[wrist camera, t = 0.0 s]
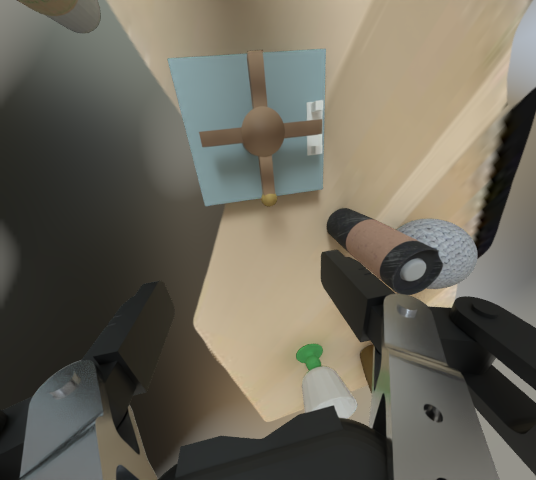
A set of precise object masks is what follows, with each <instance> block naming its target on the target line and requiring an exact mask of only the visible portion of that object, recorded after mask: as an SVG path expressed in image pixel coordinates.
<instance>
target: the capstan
mask: <svg viewBox="0 0 536 480" xmlns="http://www.w3.org/2000/svg"><path fill="white" fill-rule="evenodd" d="M247 65H248V74H249V82H250V91H251V100H252V108H253V109H252V110H251V111H250V112H249V113H248V114H247V115H246V116H245V118H244V120H243V123H242V127H241V128H231V129H221V130H211V131H202V132H199V135H200V139H201V144H202V147H213V146H221V145H230V144H239V143H242V144H243V146H244V148H245V149H246V150H247V151H248V152H249V153H251V154H252V155H255V156H258V159H259V168H260V176H261V185H262V193H263V194H262V196H261V200H262V203H263V204H264V205H265V206H273V205H274V204H275V203H276V202H277V195H276V193H275V185H274V174H273V162H272V154H274V153H276V152H277V151H278V150H279V148H280V147H281V145H282V143H283V141H284V138H293V137H302V136H311V135H318V134H322V119H318V120H308V121H299V122H289V123H283V121H282V119H281V117H280V115H279V114H278V113H277V112H276V111H275V110H273V109H271V108H269V107H268V105H267V94H266V82H265V71H264V60H263V50H255V51H248V52H247Z"/></svg>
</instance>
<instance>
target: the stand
mask: <svg viewBox="0 0 536 480" xmlns="http://www.w3.org/2000/svg"><path fill="white" fill-rule="evenodd" d="M263 60H264V71H265V82H266V94H267V105H268V107H269V108H271V109H273V110H275V111H276V112H277V113H278V114H279V115H280V117H281V119H282V121H283V123H289V122H299V121H308V120H318V119H322V134H318V135H311V136H302V137H293V138H284V141H283V143H282V145H281V147H280V148H279V150H278V151H277V152H276V153H274V154H272V162H273V174H274V185H275V193H276V195H277V196H280V195H287V194H293V193H300V192H307V191H314V190H321V189H323V154H324V107H325V61H326V49H312V50H296V51H280V52H264V53H263ZM168 63H169V67H170V71H171V75H172V79H173V82H174V86H175V90H176V94H177V98H178V102H179V106H180V110H181V114H182V118H183V121H184V125H185V129H186V133H187V137H188V141H189V145H190V148H191V153H192V157H193V160H194V164H195V168H196V171H197V176H198V180H199V184H200V188H201V191H202V196H203V200H204V203H205V206H209V205H217V204H224V203H231V202H238V201H245V200H252V199H259V198H261V196H262V194H263V193H262V185H261V176H260V168H259V159H258V156H255V155H252V154H251V153H249V152H248V151H247V150H246V149H245V148H244V146H243V144H242V143H239V144H230V145H221V146H213V147H202V144H201V139H200V135H199V132H202V131H211V130H221V129H231V128H241V127H242V123H243V120H244V118H245V116H246V115H247V114H248V113H249V112H250V111H251V110H252V109H253V108H252V100H251V91H250V82H249V74H248V65H247V54H232V55H216V56H200V57H184V58H168Z"/></svg>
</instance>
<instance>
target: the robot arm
mask: <svg viewBox="0 0 536 480" xmlns="http://www.w3.org/2000/svg"><path fill="white" fill-rule="evenodd" d="M321 282H322V285H323V287H324V289H325V290H326V292H327V293H328V295H329V296H330V298H331V299H332V301H333V302H334V304H335V305H336V307H337V308H338V310H339V311H340V313H341V314H342V316H343V317H344V319H345V320H346V322H347V323H348V325H349V326H350V328H351V329H352V331H353V332H354V334H355V335H356V337H357V338H358V340H359V341H360V342H364V341H369V340H371V342H372V343H373V345H374V349H373V372H372V399H371V408H370V417H369V427H368V426H366V425H364V424H361V423H359V422H357V421H354V420H350V419H346V418H339V417H338V415H337V412H336V410H335V407H334V405H333V406H329V407H325V408H322V409H318V410H314V411H311V412H307V413H303V414H300V415H298V416H296V417H295V418H293V419H292V420H290V421H289V422H287V423H286V424H284V425H283V426H281V427H280V428H278V429H277V430H275V431H274V432H272V433H271V434H269V435H268V436H266V437H265V438H263V439H250V438H239V437H228V436H218V437H215V438H212V439H207V440H204V441H200V442H196V443H193V444H189V445H185V446H181V448H180V453H179V459H178V464H176V465H174V466H173V467H172V468H170V469H169V470H168V471H167V472H165V473H164V474H163V475H162V476H161V477H160V478H159V479H157V477H156V474H155V472H154V471H153V469H152V467H151V466H150V464H149V462H148V459H147V457H146V454H145V450H144V447H143V444H142V441H141V438H140V434H139V431H138V428H137V425H136V422H135V418H134V415H133V412H132V409H131V407H130V406H129V404H130V401H131V399H132V396H133V395H137V394H141V393H145V392H147V390H148V387H149V385H150V382H151V379H152V376H153V373H154V371H155V368H156V365H157V363H158V360H159V357H160V354H161V352H162V349H163V346H164V343H165V340H166V338H167V335H168V332H169V329H170V327H171V324H172V321H173V319H174V314H175V313H174V312H175V310H174V305H173V302H172V300H171V298H170V295H169V293H168V291H167V288H166V286H165V284H164V282H162V281H157V282H151V283H146V284H143V285H142V286H141V287H140V289H139V290H138V292H137V293H136V295H135V296H134V297H132V298H130V299H129V300H128V301H127V302H125V303H124V304H123V305H122V306H121V307H120V308H119V310H118V311H117V313H116V314H115V315H114V318H112V319H111V321H110V322H109V323H108V326H107V327H105V329H104V330H103V332H102V333H101V334H100V336H99V337H98V338H97V340H96V341H95V342H94V344H93V345H92V347H91V348H90V349H89V351H88V352H87V353H86V355H85V356H84V358H83V359H82V360H81V361H78V362H75V363H72V364H70V365H68V366H67V367H65V368H63V369H61V370H60V371H58V372H57V373H56V374H54V375H53V376H52V377H50V378H49V379H48V380H47V381H46V382H45V383H44V384H43V385H42V386H41V387H40V388H39V389H38V390H37V392H36V393H35V394H34V396H32V397H31V398H28V399H26V400H24V401H22V402H19V403H17V404H15V405H13V406H11V407H9V408H7V409H4V410H0V480H499V477H498V474H497V471H496V468H495V465H494V462H493V460H492V457H491V454H490V451H489V448H488V445H487V442H486V439H485V436H484V433H483V430H482V428H481V425H480V422H479V419H478V416H477V413H476V410H475V408H476V409H477V410H478V411H479V412H480V414H481V415H482V416H483V417H484V418H485V419H486V420H487V421H488V423H489V424H490V425H491V426H492V427H493V428H494V429H495V430H496V431H497V433H498V434H499V435H500V436H501V437H502V438H503V439H504V441H505V442H506V443H507V444H508V445H509V446H510V447H511V448H512V449H513V451H514V452H515V453H516V454H517V455H518V456H519V457H520V458H521V459H522V461H523V462H524V463H525V464H526V465H527V466H528V467H529V468H530V470H531V471H532V472H533V473H534V474H535V475H536V403H535V402H534V401H533V400H532V399H531V398H529V397H528V396H527V395H526V394H525V393H524V392H522V391H521V390H520V389H519V388H518V387H517V386H516V385H514V384H513V383H512V382H511V381H510V380H509V379H508V378H506V377H505V376H504V375H503V374H502V373H501V372H499V371H498V370H497V369H496V368H495V367H494V366H493V365H491V364H492V363H493V361H494V360H495V359H496V358H497V359H498V360H500V361H501V362H502V363H503V364H505V365H506V366H507V367H508V368H509V369H511V370H512V371H513V372H514V373H515V374H517V375H518V376H519V377H520V378H521V379H523V380H524V381H525V382H526V383H528V384H529V385H530V386H531V387H533V388H534V389H535V390H536V328H535V327H533V326H531V325H530V324H528V323H527V322H525V321H523V320H522V319H520V318H518V317H517V316H515V315H514V314H512V313H510V312H509V311H507V310H505V309H504V308H502V307H500V306H498V305H496V304H494V303H492V302H489V301H486V300H483V299H480V298H475V297H459V298H457V299H456V300H455V302H454V304H453V306H452V308H444V307H428V306H427V305H426V304H424V303H423V302H422V301H420V300H418V299H416V298H414V297H412V296H409V295H405V294H395V293H394V292H393V291H392V290H391V289H390V288H388V287H387V286H386V285H385V284H384V283H383V282H382V281H380V280H379V279H378V278H377V277H376V276H375V275H373V274H372V273H371V272H370V271H369V270H368V269H366V268H365V267H364V266H363V265H362V264H361V263H360V262H359V261H356V260H354V259H352V258H350V257H345V256H344V255H343V254H342V253H341V252H340V251H338V250H331V251H326V252H322V254H321Z"/></svg>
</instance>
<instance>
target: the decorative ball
mask: <svg viewBox="0 0 536 480" xmlns="http://www.w3.org/2000/svg"><path fill="white" fill-rule="evenodd" d="M397 231H399V232H401V233H403V234H406V235H408V236H410V237H412V238H414V239H416V240H418V241H420V242H422V243H424V244H426V245H428V246H430V247H432V248H434V249H437V250H439V252H438V254H439V257H440V259H441V261H442V262H443V268H442V271H441V273H440V274H439V276H438V277H437V279H436V280H435V281H434V282H433V283H432V284H431V285H430V286H428V287H427V289H441V288H446V287H450V286H453V285H455V284H457V283H459V282H461V281H463V280H464V279H465V278H467V277H468V276H469V275H470V273H471V272H472V271H473V269H474V267H475V265H476V262H477V249H476V246H475V243H474V241H473V240H472V238H471V237H470V236H469V235H468V234H467V233H466V232H465V231H464V230H463V229H462V228H460V227H459V226H457V225H455V224H453V223H450V222H447V221H443V220H438V219H419V220H414V221H411V222H409V223H406V224H404V225H403V226H401V227H399V228H398V229H397Z"/></svg>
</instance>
